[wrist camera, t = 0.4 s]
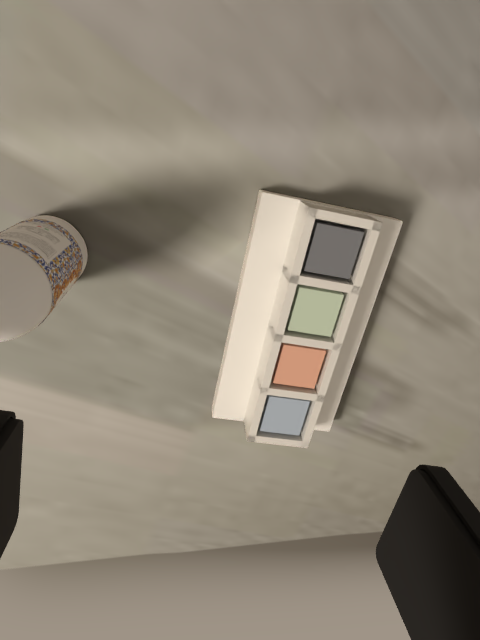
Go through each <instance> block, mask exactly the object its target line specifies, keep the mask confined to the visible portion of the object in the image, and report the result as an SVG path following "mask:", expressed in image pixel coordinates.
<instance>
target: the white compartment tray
mask: <svg viewBox="0 0 480 640" xmlns="http://www.w3.org/2000/svg"><path fill="white" fill-rule="evenodd" d="M315 220H319V221H324V222H328V223H333V224H338V225H343V226H348V227H353V228H358V229H359V230H361V231H363V232H364V235H363V238H362V241H361V244H360V247H359V251H358V254H357V257H356V260H355V263H354V266H353V269H352V272H351V276H350V279H346V278H340V277H335V276H329V275H324V274H318V273H313V272H307V271H304V270H303V269H302V266H303V262H304V258H305V255H306V251H307V247H308V244H309V240H310V236H311V233H312V229H313V225H314V222H315ZM402 223H403V221H401V220H398V219H396V218H393V217H388V216H383V215H379V214H374V213H369V212H364V211H360V210H355V209H350V208H345V207H341V206H336V205H331V204H327V203H322V202H317V201H312V200H308V199H303V198H298V197H293V196H289V195H284V194H279V193H274V192H270V191H265V190H260V189H259V194H258V199H257V203H256V208H255V212H254V217H253V221H252V226H251V230H250V235H249V240H248V244H247V249H246V253H245V258H244V262H243V267H242V272H241V276H240V281H239V285H238V290H237V294H236V299H235V304H234V308H233V313H232V317H231V322H230V326H229V331H228V336H227V340H226V345H225V349H224V354H223V358H222V363H221V368H220V372H219V377H218V381H217V386H216V390H215V395H214V400H213V404H212V417H213V418H221V419H229V420H238V421H244V426H245V432H246V438H247V441H250V442H259V443H268V444H277V445H285V446H294V447H303V448H308V445H309V442H310V439H311V436H312V433H313V430H322V431H330V428H331V425H332V422H333V419H334V417H335V414H336V411H337V408H338V405H339V402H340V399H341V397H342V394H343V391H344V388H345V385H346V382H347V380H348V377H349V374H350V371H351V368H352V365H353V363H354V360H355V357H356V354H357V351H358V348H359V345H360V343H361V340H362V337H363V334H364V331H365V328H366V326H367V323H368V320H369V317H370V314H371V311H372V309H373V306H374V303H375V300H376V297H377V294H378V291H379V289H380V286H381V283H382V280H383V277H384V274H385V272H386V269H387V266H388V263H389V260H390V257H391V254H392V252H393V249H394V246H395V243H396V240H397V237H398V235H399V232H400V229H401V226H402ZM297 284H300V285H306V286H312V287H317V288H323V289H329V290H334V291H340V292H342V293H343V294H344V297H343V300H342V304H341V307H340V310H339V313H338V316H337V319H336V322H335V325H334V329H333V332H332V335H331V337H328V336H322V335H316V334H309V333H303V332H297V331H290V330H287V327H286V324H287V320H288V317H289V313H290V309H291V306H292V302H293V298H294V295H295V291H296V287H297ZM281 342H282V343H289V344H295V345H302V346H308V347H315V348H322V349H325V350H326V354H325V357H324V360H323V363H322V366H321V369H320V372H319V375H318V378H317V382H316V385H315V388H314V389H313V388H305V387H298V386H290V385H283V384H276V383H273V381H272V375H273V372H274V368H275V364H276V361H277V357H278V353H279V350H280V346H281ZM267 395H273V396H280V397H288V398H296V399H303V400H310V403H309V407H308V410H307V413H306V416H305V419H304V422H303V425H302V428H301V431H300V435H290V434H282V433H273V432H265V431H260V429H259V423H260V419H261V415H262V412H263V408H264V404H265V401H266V397H267Z"/></svg>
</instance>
